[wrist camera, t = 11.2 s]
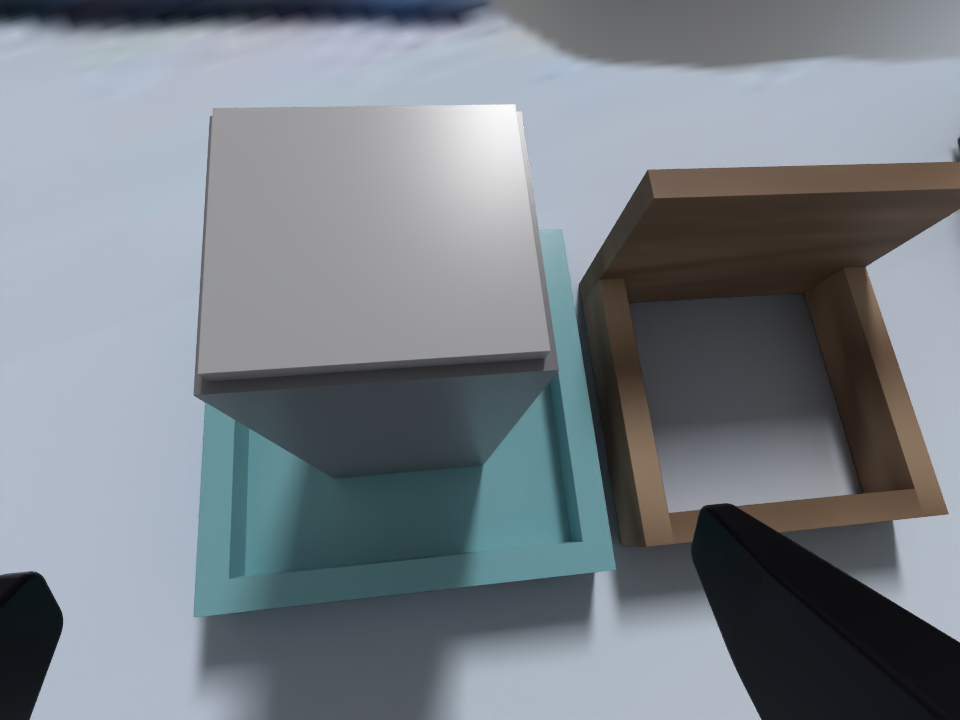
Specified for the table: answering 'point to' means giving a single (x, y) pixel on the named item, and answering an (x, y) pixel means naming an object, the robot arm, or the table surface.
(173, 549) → the table surface
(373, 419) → the grey lidded box
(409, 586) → the teal tray
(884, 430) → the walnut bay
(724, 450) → the table surface
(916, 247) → the table surface
